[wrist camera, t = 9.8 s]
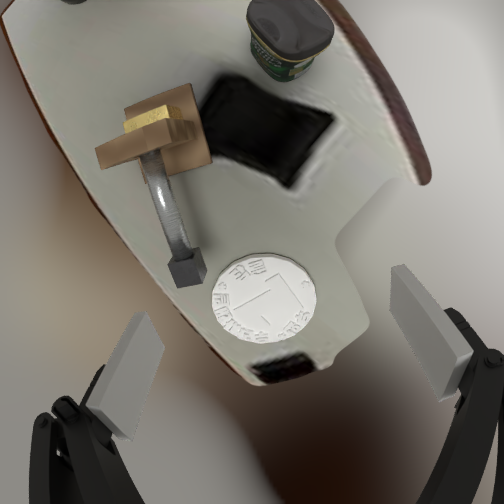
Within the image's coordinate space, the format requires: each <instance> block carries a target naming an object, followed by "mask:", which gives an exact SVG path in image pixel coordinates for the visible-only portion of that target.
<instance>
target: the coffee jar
mask: <svg viewBox="0 0 504 504" xmlns="http://www.w3.org/2000/svg"><path fill="white" fill-rule="evenodd" d="M246 20H247V23H248V26H249V28H250V31H251V44H250V46H251V52H252V54H253V56H254V57H255V59H256V60H257V62H258V63H259V64H260V66H261V67H262V68H263V69H264V70H265V71H266V72H267V73H268V74H269V75H270V76H271V77H272V78H273V79H275V80H277V81H281V82H287V81H291V80H293V79H295V78H297V77H299V76H301V75H302V74H304V73H305V72H306V71H307V70H308V69H309V68H310V66H311V64H312V62H313V60H314V57H315V56H317V55H318V54H320V53H321V52H323V51H324V50H325V49H326V48H327V47H328V46H329V45H330V43H331V40H332V38H333V35H334V25H333V22H332V20H331V19H330V17H329V16H328V15H327V14H326V12H325V11H324V10H323V9H322V8H321V7H320V6H319V4H318V3H317V2H316V1H315V0H252V1H251V2H250V4H249V6H248V9H247V14H246Z"/></svg>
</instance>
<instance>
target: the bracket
mask: <svg viewBox="0 0 504 504" xmlns="http://www.w3.org/2000/svg"><path fill="white" fill-rule="evenodd" d="M164 105H170V106H174V107H178V108H180V110H181V114H182V117H183V120H180V119H171V118H163V119H161V120H158V121H156V122H153V123H150V124H148V125H145V126H143V127H140V128H138V129H136V130H133V131H131V132H129V133H126V134H124V135H122V136H120V137H117V138H115V139H113V140H111V141H109V142H107V143H104V144H102V145H100V146H98V147H96V148H95V151H96V154H97V158H98V161H99V164H100V168H101V170H103V169H106V168H109V167H112V166H116V165H119V164H122V163H125V162H129V161H132V160H136V159H138V161H139V165H140V168H141V171H142V174H143V177H144V181H145V184H147V181H146V178H145V174H144V171H143V168H142V165H141V161H140V158H139V155H142V154H145V153H147V152H150V151H153V150H155V149H158V148H160V151H161V154H162V157H163V161H164V164H165V167H166V171H167V174H168V176H171V175H174V174H177V173H180V172H183V171H187V170H190V169H193V168H197V167H200V166H204V165H207V164H211V163H213V162H212V158H211V155H210V151H209V147H208V144H207V140H206V137H205V133H204V129H203V126H202V122H201V119H200V115H199V111H198V108H197V104H196V100H195V97H194V93H193V89H192V85H191V84H190V83H188V84H185V85H182V86H179V87H177V88H174V89H171V90H168V91H166V92H163V93H161V94H158V95H155V96H153V97H150V98H148V99H146V100H143V101H141V102H139V103H136V104H134V105H132V106H129V107H127V108H125V109H124V111H125V115H126V119H127V120H129V119H132V118H134V117H136V116H139V115H141V114H143V113H146V112H148V111H151V110H153V109H156V108H158V107H161V106H164Z"/></svg>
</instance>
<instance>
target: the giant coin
mask: <svg viewBox="0 0 504 504" xmlns="http://www.w3.org/2000/svg"><path fill="white" fill-rule="evenodd" d="M316 301H317V300H316V294H315V288H314V284H313V281H312V280H311V278H310V277H309V275H308V274H307V272H306V271H305V269H304V268H303V267H301V266H300V265H298V264H297V263H295V262H294V261H292V260H291V259H290V258H286V257H282V256H279V255H275V254H271V253H270V254H253V255H249V256H247V257H244V258H242V259H239V260H237V261H234V262H233V263H232V264H230V265H229V266H228V267H227V268H226V269H225V270H224V271H223V272H221V273H220V275H219V277H218V280H217V282H216V284H215V286H214V288H213V292H212V308H213V310H214V313H215V315H216V318H217V320H218V322H219V323H220V324H221V325H222V326H223V328H224V329H225V330H227V331H228V332H229V333H231V334H233V335H235V336H237V337H238V339H243V340H247V341H252V342H256V343H259V344H260V343H267V342H277V341H280V340H285V339H286V338H289V337H291V336H295V335H296V333H297V332H298V331H300V330H301V329H303V328H304V327H305V325H306V324H307V323H308V321H309V320H310V319H311V317H312V316H313V313H314V309H315V305H316Z"/></svg>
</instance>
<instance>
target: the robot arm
mask: <svg viewBox="0 0 504 504" xmlns="http://www.w3.org/2000/svg"><path fill="white" fill-rule="evenodd" d="M61 1H63V2H65V3H68V4H78V3H81V2H84V1H86V0H61ZM390 311H391V313H392V315H393V317H394V318H395V320H396V322H397V323H398V325H399V327H400V329H401V330H402V332H403V334H404V336H405V337H406V339H407V341H408V342H409V345H410V346H411V348H412V350H413V352H414V354H415V356H416V357H417V359H418V361H419V363H420V365H421V367H422V369H423V371H424V373H425V375H426V376H427V379H428V381H429V383H430V384H431V387H432V389H433V391H434V392H435V395H436V397H437V399H438V401H439V402H441V401H443V400H446V399H447V398H450V397H452V396H454V395H455V393H456V390H457V388H459V390H460V392H461V396H460V398H459V400H458V401H457V403H456V405H455V408H456V412H455V414H454V418H453V421H452V424H451V427H450V430H449V433H448V435H447V438H446V440H445V443H444V446H443V448H442V451H441V453H440V456H439V458H438V460H437V463H436V465H435V467H434V469H433V471H432V473H431V475H430V477H429V480H428V482H427V484H426V486H425V487H424V489H423V491H422V493H421V495H420V497H419V499H418V500H417V502H416V504H471V503H472V501H473V499H474V496H475V494H476V491H477V489H478V486H479V484H480V481H481V478H482V475H483V473H484V470H485V467H486V463H487V460H488V457H489V454H490V450H491V447H492V443H493V439H494V435H495V431H496V426H497V422H498V454H497V467H496V476H495V484H494V491H493V497H492V502H491V504H504V355H503V354H502V353H501V352H500V351H498V350H496V349H488V348H487V347H486V345H485V344H484V343H483V341H482V340H481V339H480V338H479V336H478V335H477V334H476V332H475V331H474V330H473V329H472V327H470V325H469V323H468V322H466V320H465V318H464V317H463V316H462V315H461V314H460V313H459V312H458V311H456V310H455V309H453V308H448V309H445V310H443V309H442V308H441V307H440V305H439V304H438V303H437V302H436V301H435V299H434V298H433V297H432V296H431V294H430V293H429V292H428V291H427V290H426V289H425V287H424V286H423V285H422V284H421V283H420V281H419V280H418V279H417V278H416V277H415V276H414V274H413V273H412V272H411V271H410V270H409V269H408V268H407V267H406V266H405V264H402V265H398V266H394V267H392V268H391V295H390ZM164 349H165V347H164V345H163V343H162V341H161V339H160V337H159V336H158V334H157V332H156V330H155V328H154V326H153V324H152V322H151V320H150V318H149V316H148V314H147V312H138V313H135V314H134V316H133V317H132V319H131V321H130V322H129V324H128V326H127V328H126V329H125V331H124V333H123V335H122V336H121V338H120V340H119V342H118V343H117V345H116V347H115V349H114V351H113V353H112V355H111V356H110V358H109V360H108V362H107V364H106V365H103V366H102V367H101V368H100V369H99V370H98V371H97V372H96V374H95V376H94V378H93V381H92V382H91V383H90V387H88V389H87V391H86V393H85V395H84V397H83V399H82V401H81V403H80V405H79V406H78V405H77V403H76V402H75V401H73V399H72V398H71V397H69V396H62V397H60V398H58V399H57V400H56V401H55V402H54V404H53V406H52V410H51V412H52V413H53V414H54V415H55V416H56V417H57V418H56V419H54V418H53V417H52V416H51V415H50V414H49V413H47V412H45V413H42V414H40V415H39V416H37V418H36V420H35V422H34V426H33V433H32V442H31V453H30V468H29V504H145V503H144V501H143V499H142V498H141V496H140V494H139V492H138V490H137V489H136V487H135V485H134V483H133V481H132V479H131V477H130V475H129V473H128V471H127V469H126V467H125V465H124V463H123V461H122V458H121V456H120V454H119V452H118V449H117V447H116V445H115V442H114V441H113V440H112V439H111V436H112V433H113V434H115V435H116V437H118V438H119V439H121V440H127V441H133V438H134V435H135V432H136V429H137V425H138V422H139V419H140V416H141V413H142V410H143V407H144V405H145V402H146V399H147V396H148V393H149V390H150V387H151V385H152V381H153V379H154V376H155V374H156V371H157V368H158V365H159V363H160V360H161V357H162V354H163V352H164ZM57 450H58V451H59V452H60V456H58V455H57Z"/></svg>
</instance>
